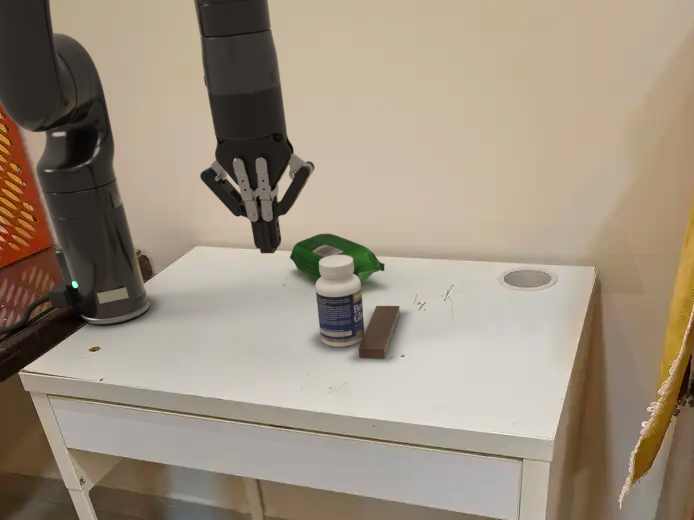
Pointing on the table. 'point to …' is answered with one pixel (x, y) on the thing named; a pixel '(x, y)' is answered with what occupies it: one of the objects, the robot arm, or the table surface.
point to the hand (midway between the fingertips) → (269, 251)
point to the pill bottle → (339, 302)
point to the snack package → (327, 245)
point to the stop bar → (379, 332)
